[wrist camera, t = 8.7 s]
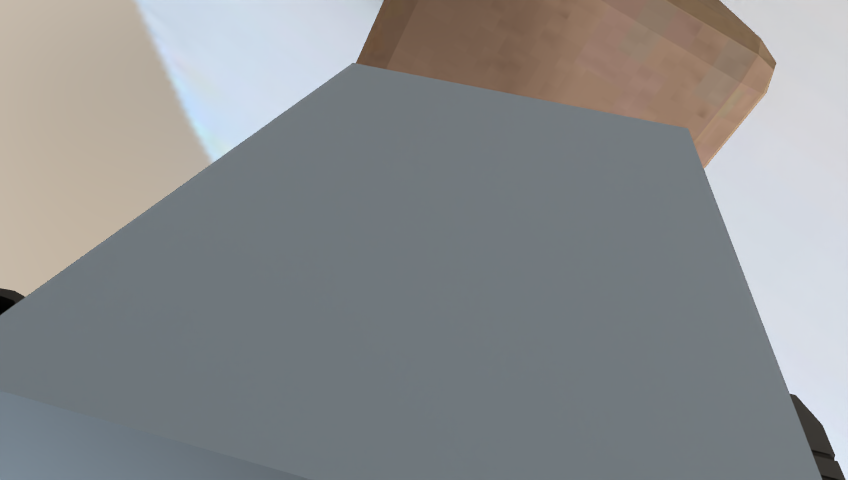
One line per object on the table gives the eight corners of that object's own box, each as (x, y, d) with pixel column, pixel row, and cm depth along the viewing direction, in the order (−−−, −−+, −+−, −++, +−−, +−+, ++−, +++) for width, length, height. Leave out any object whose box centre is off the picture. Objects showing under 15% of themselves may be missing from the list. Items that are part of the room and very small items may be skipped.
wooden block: (431, 50, 38) (294, 187, 21) (522, -130, 33) (441, -148, 16) (583, 138, 38) (572, 345, 21) (696, -27, 33) (805, 68, 16)
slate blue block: (352, 63, 12) (-76, 368, 4) (687, 128, 11) (884, 641, 4) (332, 325, 15) (52, 788, 7) (597, 392, 14) (598, 990, 7)
